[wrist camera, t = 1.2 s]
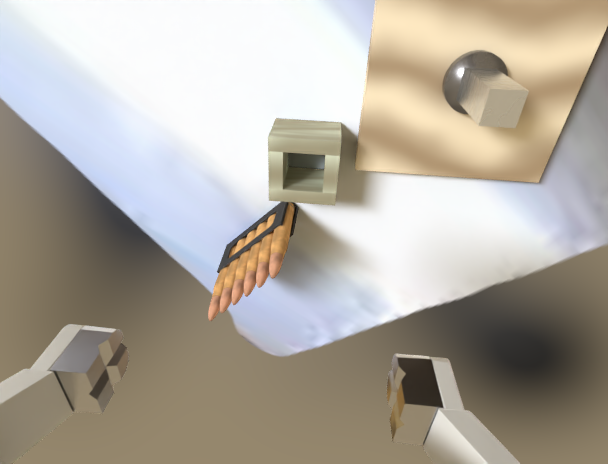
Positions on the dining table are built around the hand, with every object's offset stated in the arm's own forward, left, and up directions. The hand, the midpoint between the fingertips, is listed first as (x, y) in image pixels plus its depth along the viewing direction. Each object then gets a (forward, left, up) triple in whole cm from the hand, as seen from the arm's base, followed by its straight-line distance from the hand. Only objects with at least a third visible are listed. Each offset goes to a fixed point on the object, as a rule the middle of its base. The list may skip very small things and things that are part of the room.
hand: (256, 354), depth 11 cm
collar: (+6, 0, -30) cm, 30 cm away
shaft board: (-2, +14, -30) cm, 33 cm away
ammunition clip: (+16, -5, -30) cm, 34 cm away
